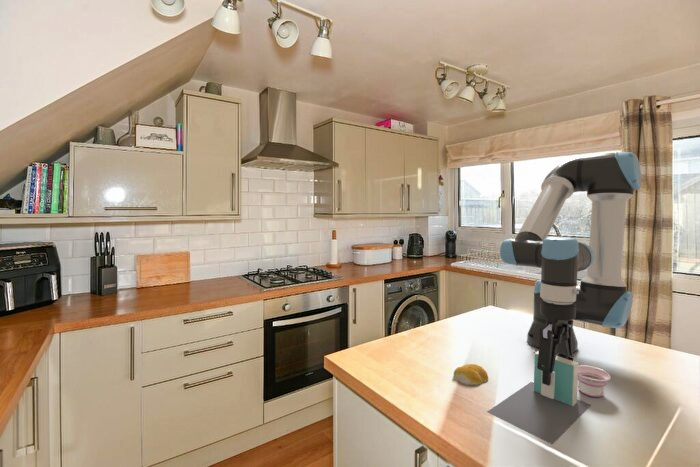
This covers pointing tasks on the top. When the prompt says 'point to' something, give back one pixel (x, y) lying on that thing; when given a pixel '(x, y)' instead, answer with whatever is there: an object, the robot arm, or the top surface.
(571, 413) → the mat
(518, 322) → the top surface
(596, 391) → the teacup
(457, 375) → the bread roll
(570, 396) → the tile
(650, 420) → the top surface
